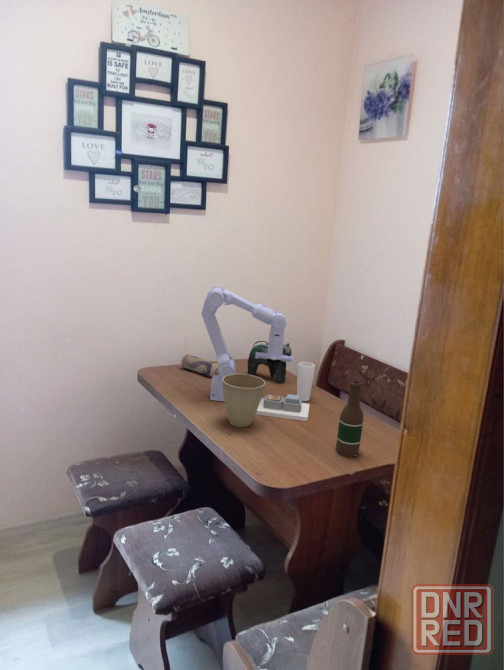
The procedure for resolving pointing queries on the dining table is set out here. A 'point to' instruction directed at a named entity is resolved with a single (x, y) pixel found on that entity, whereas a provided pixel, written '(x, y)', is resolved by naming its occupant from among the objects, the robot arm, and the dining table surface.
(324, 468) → the dining table surface
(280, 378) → the ceramic cat
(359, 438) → the beer bottle
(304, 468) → the dining table surface
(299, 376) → the drinking glass
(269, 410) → the key panel
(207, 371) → the decorative bottle
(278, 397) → the key oak
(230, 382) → the plant pot
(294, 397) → the key slate
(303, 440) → the dining table surface
